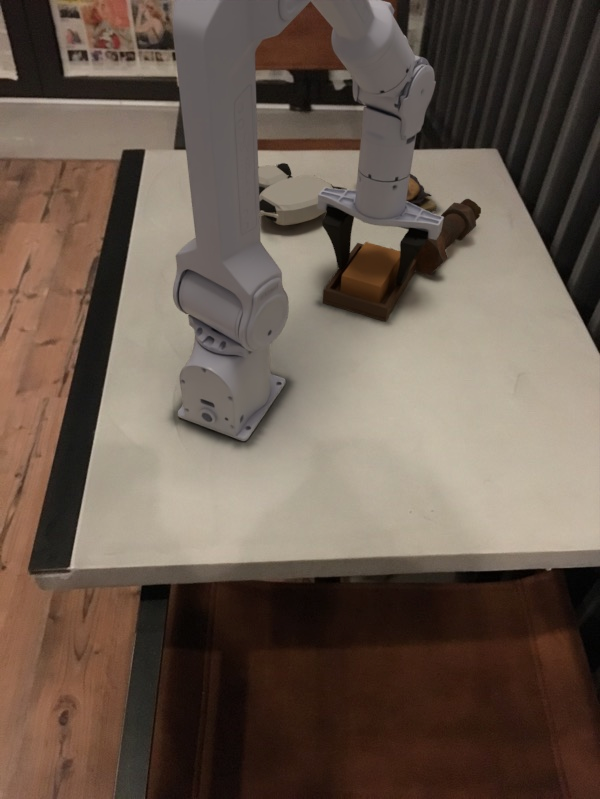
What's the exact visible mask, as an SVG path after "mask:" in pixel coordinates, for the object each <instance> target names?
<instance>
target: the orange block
mask: <svg viewBox="0 0 600 799" xmlns="http://www.w3.org/2000/svg"><path fill="white" fill-rule="evenodd" d="M363 244H364V245H363V246H362V248H361V249H360V250H359V252H358V253H357V255H356V256H355V257H354V259H353V260H352V262H351V263H350V264H349V266H348V267H347V269H346V270H345V272H344V273H343V274H342V278H341V290H340V292H344V293H347V294H351V295H354V296H357V297H361V298H364V299H368V300H371V301H374V302H378V303H381V301H382V300H383V298H384V296H385V295H386V293H387V291H388V290H389V288H390V287H391V285H392V283H393V282H394V280H395V278H396V277H397V274H398V270H399V265H400V250H397V249H393V248H390V247H386V246H382V245H380V244H379V245H378V244H376V243H371V242H368V241H365V242H364V243H363Z"/></svg>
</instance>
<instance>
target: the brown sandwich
mask: <svg viewBox="0 0 600 799" xmlns="http://www.w3.org/2000/svg"><path fill="white" fill-rule="evenodd" d="M430 197H432V194H430V193H427V192H426V191H425V187H424V186H423V184H421V183H420V182H419V180H418V178H417V177H416V176H415V175H413V174H411V173H410V179H409V185H408V192H407V199H406V201H408V202H410V203H412V204H414V205H416V206H418V207H420V208H422V209H424V210H426V211H428V212H431V211H434V210H437V204H436V202H434V201H433V199H431V198H430Z"/></svg>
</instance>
